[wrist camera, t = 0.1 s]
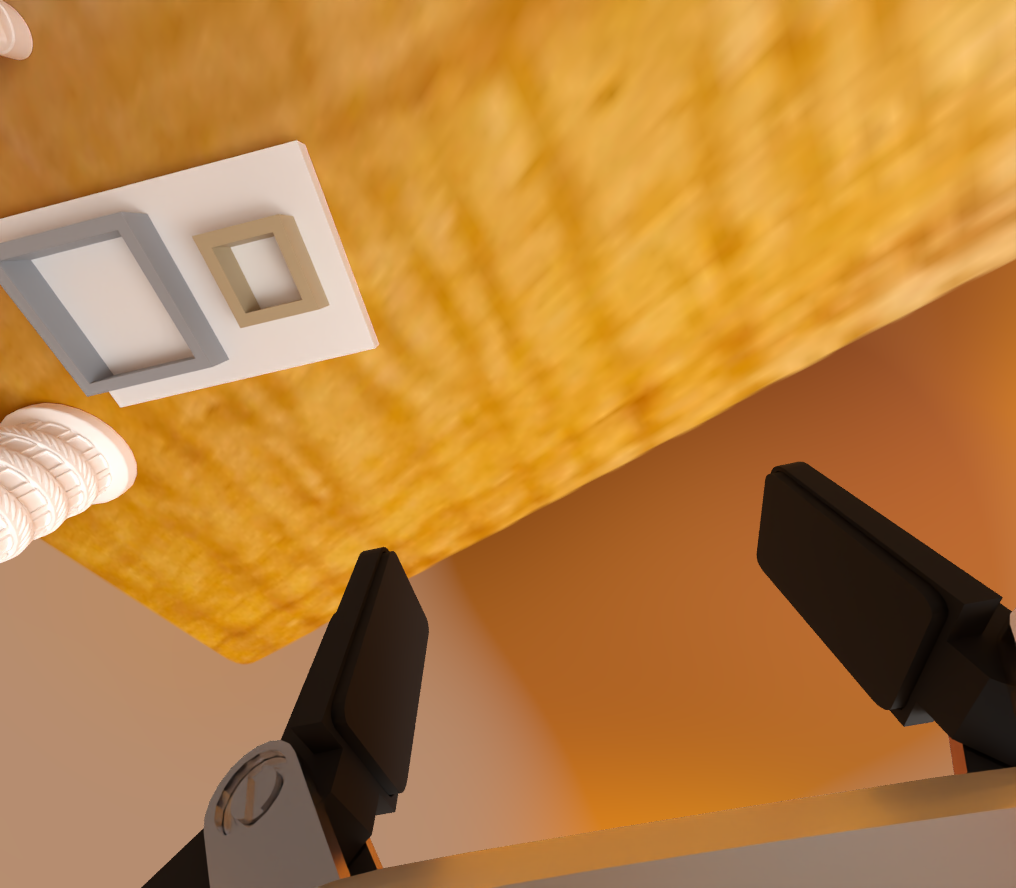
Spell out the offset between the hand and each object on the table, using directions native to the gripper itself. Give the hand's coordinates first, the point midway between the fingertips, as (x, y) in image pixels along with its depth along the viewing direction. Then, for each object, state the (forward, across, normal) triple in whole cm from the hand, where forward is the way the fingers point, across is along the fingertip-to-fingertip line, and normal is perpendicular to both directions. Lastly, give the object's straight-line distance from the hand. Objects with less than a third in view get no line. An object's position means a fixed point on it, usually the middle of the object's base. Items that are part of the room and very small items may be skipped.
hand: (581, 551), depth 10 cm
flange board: (+31, +26, -9) cm, 42 cm away
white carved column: (+31, +48, +3) cm, 58 cm away
